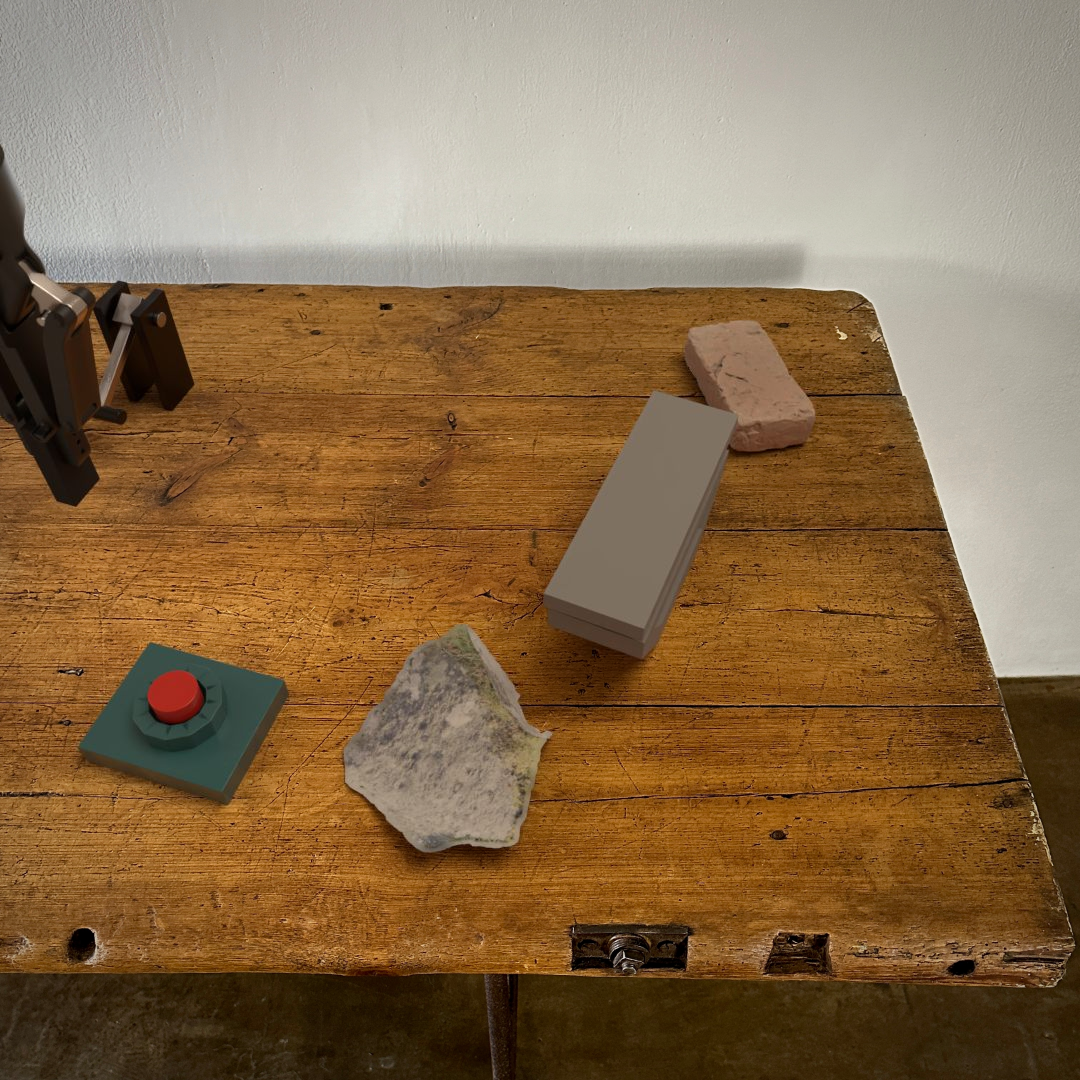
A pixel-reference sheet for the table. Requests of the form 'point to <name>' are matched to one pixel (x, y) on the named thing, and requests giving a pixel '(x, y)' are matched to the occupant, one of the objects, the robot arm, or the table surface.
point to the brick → (749, 385)
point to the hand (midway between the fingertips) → (78, 489)
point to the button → (175, 697)
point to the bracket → (148, 347)
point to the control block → (187, 725)
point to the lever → (117, 360)
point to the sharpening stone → (643, 527)
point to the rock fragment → (448, 748)
